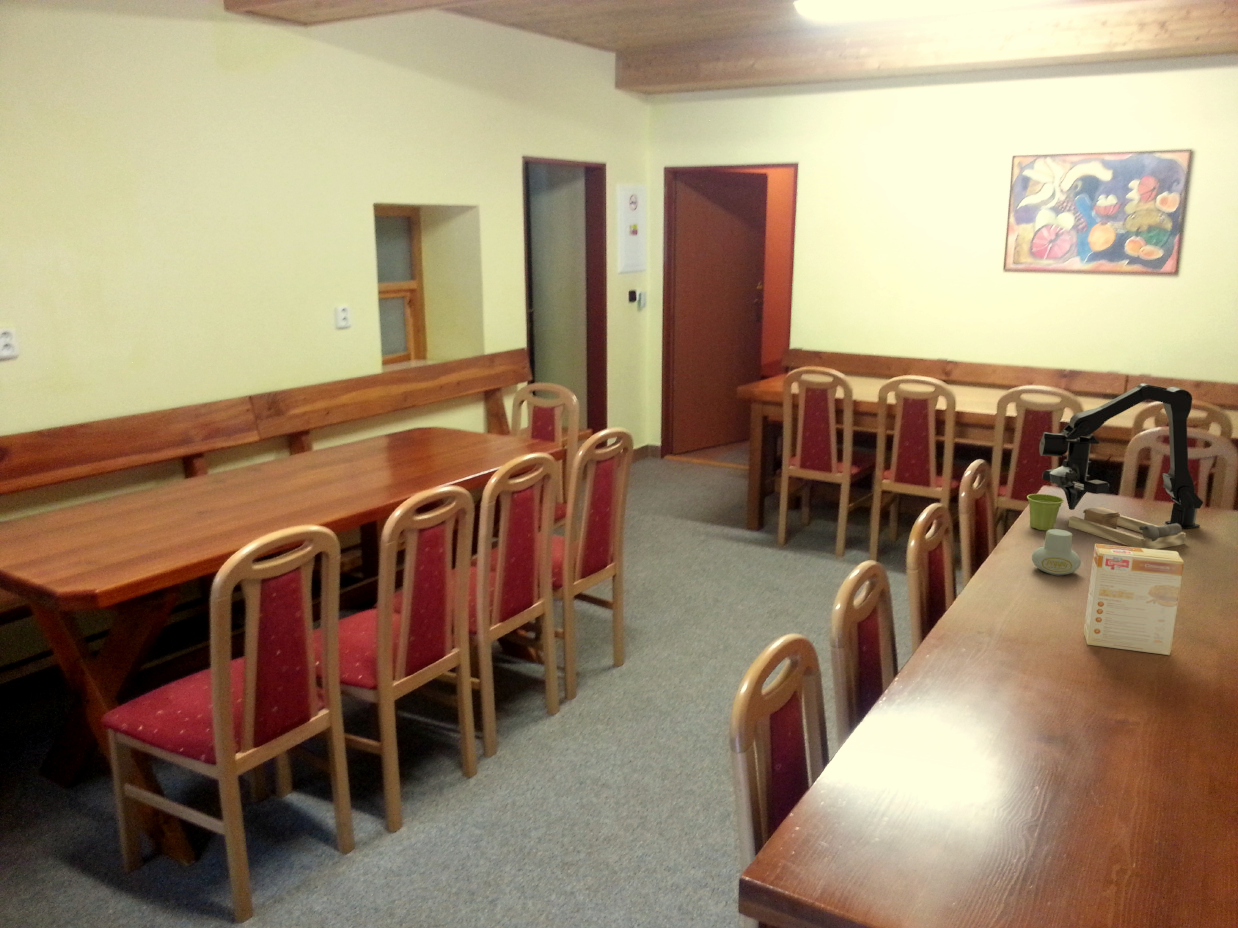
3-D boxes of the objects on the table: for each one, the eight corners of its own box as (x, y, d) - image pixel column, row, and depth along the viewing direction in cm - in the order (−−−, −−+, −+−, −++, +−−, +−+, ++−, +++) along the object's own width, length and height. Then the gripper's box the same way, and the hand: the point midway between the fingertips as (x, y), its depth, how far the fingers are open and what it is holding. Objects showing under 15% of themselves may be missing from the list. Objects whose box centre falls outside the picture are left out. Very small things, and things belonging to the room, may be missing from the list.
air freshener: (1030, 573, 232) (1035, 534, 230) (1030, 563, 240) (1034, 525, 238) (1080, 579, 228) (1085, 539, 226) (1078, 569, 236) (1083, 530, 234)
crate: (1096, 523, 276) (1099, 506, 275) (1117, 529, 270) (1120, 512, 268) (1081, 525, 273) (1083, 508, 272) (1102, 532, 267) (1104, 514, 266)
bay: (1106, 520, 278) (1109, 498, 277) (1189, 545, 256) (1192, 521, 254) (1068, 526, 272) (1071, 503, 270) (1149, 552, 249) (1153, 528, 248)
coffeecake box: (1163, 642, 193) (1177, 550, 189) (1170, 656, 186) (1185, 561, 182) (1082, 631, 198) (1094, 542, 193) (1086, 645, 191) (1098, 552, 187)
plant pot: (1063, 533, 265) (1067, 503, 263) (1027, 531, 266) (1030, 501, 264) (1055, 524, 274) (1059, 494, 272) (1020, 521, 275) (1024, 492, 273)
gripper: (1031, 453, 281) (1025, 504, 284) (1085, 467, 264) (1078, 521, 268) (1058, 450, 285) (1052, 500, 289) (1113, 463, 269) (1106, 516, 273)
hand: (1071, 509), depth 279 cm, fingers closed
